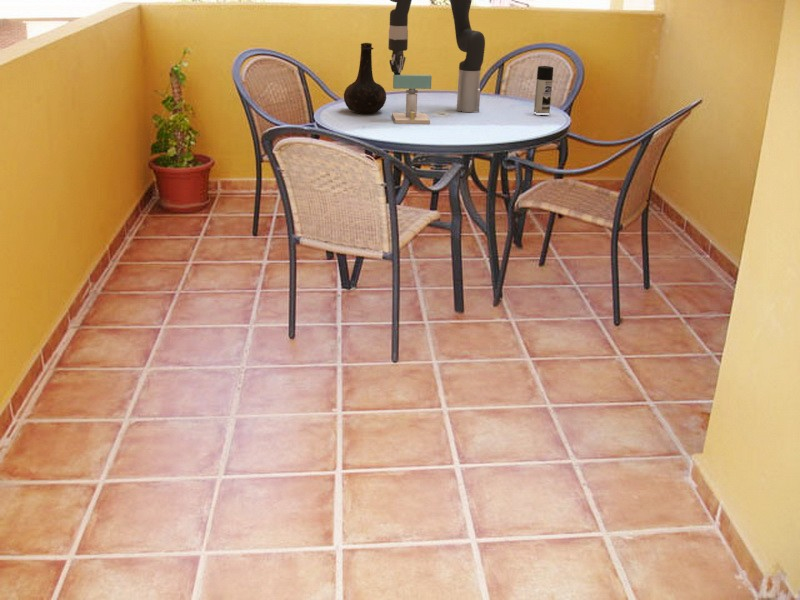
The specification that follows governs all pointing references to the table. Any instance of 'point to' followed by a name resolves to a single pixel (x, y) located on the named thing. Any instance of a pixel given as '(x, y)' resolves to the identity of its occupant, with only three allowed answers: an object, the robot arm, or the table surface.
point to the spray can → (543, 89)
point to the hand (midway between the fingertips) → (396, 82)
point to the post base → (411, 113)
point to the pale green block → (412, 82)
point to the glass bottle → (365, 87)
